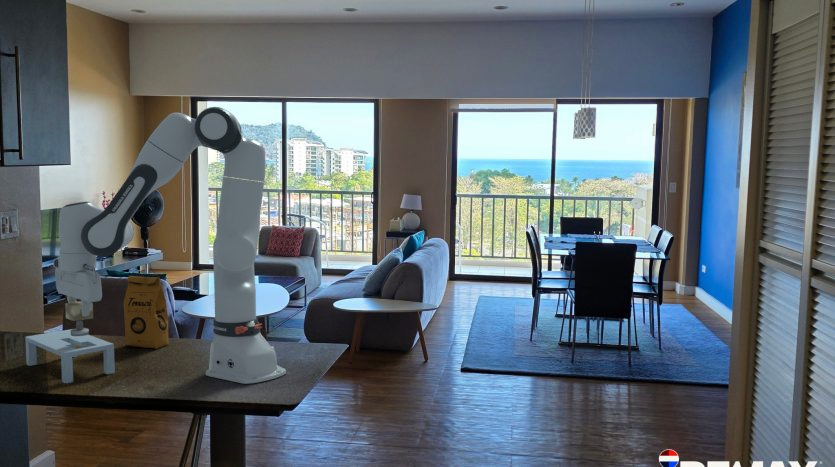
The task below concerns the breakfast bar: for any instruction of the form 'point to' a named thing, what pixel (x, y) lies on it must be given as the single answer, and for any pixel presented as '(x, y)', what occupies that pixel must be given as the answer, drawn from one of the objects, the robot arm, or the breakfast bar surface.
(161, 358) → the breakfast bar surface
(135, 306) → the coffee package
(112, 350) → the keyhole stand
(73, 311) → the peg
